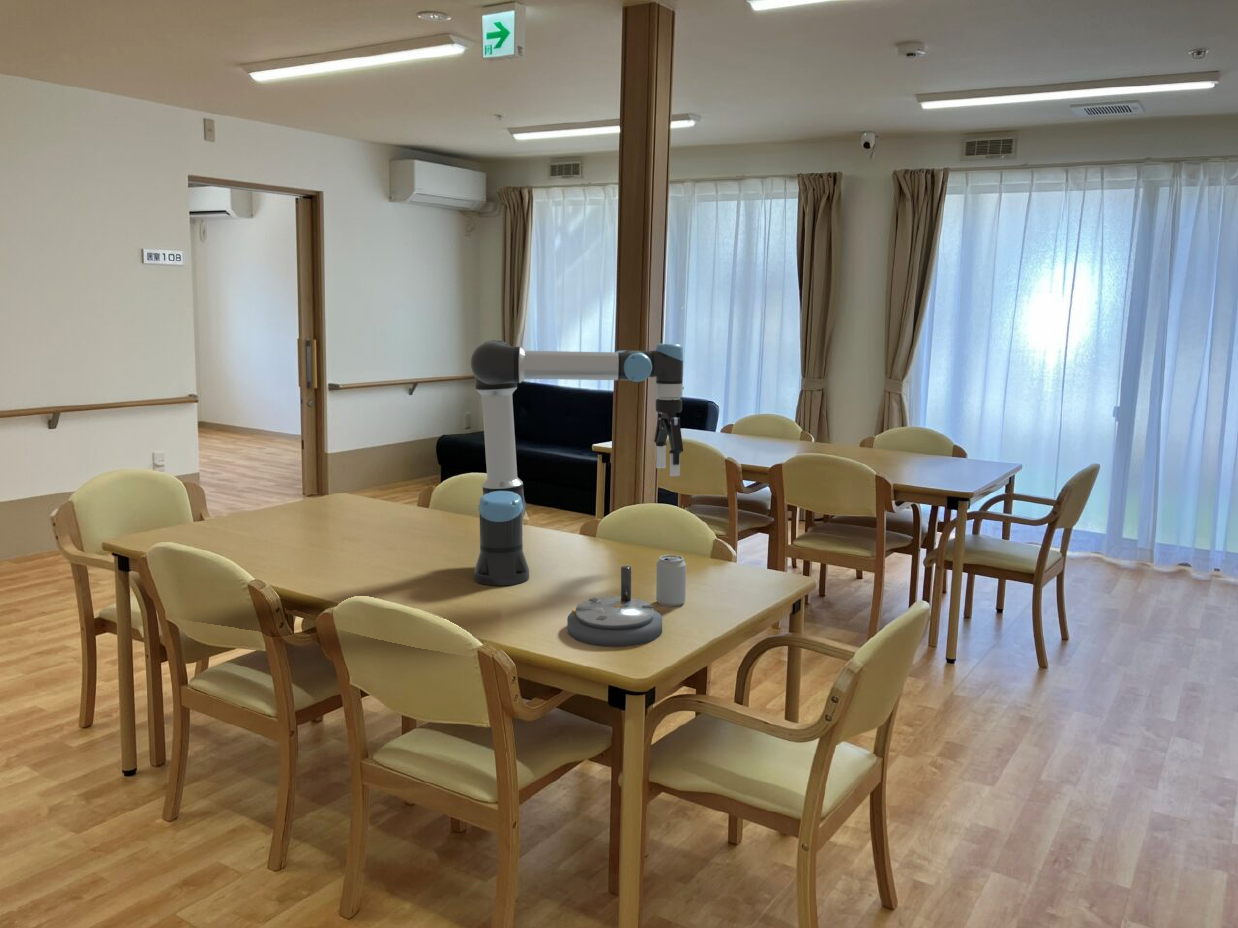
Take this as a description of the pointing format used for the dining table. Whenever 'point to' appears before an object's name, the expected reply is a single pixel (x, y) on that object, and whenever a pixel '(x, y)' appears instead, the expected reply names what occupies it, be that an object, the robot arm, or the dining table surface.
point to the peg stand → (616, 609)
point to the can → (671, 580)
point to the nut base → (614, 633)
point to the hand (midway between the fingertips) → (667, 472)
